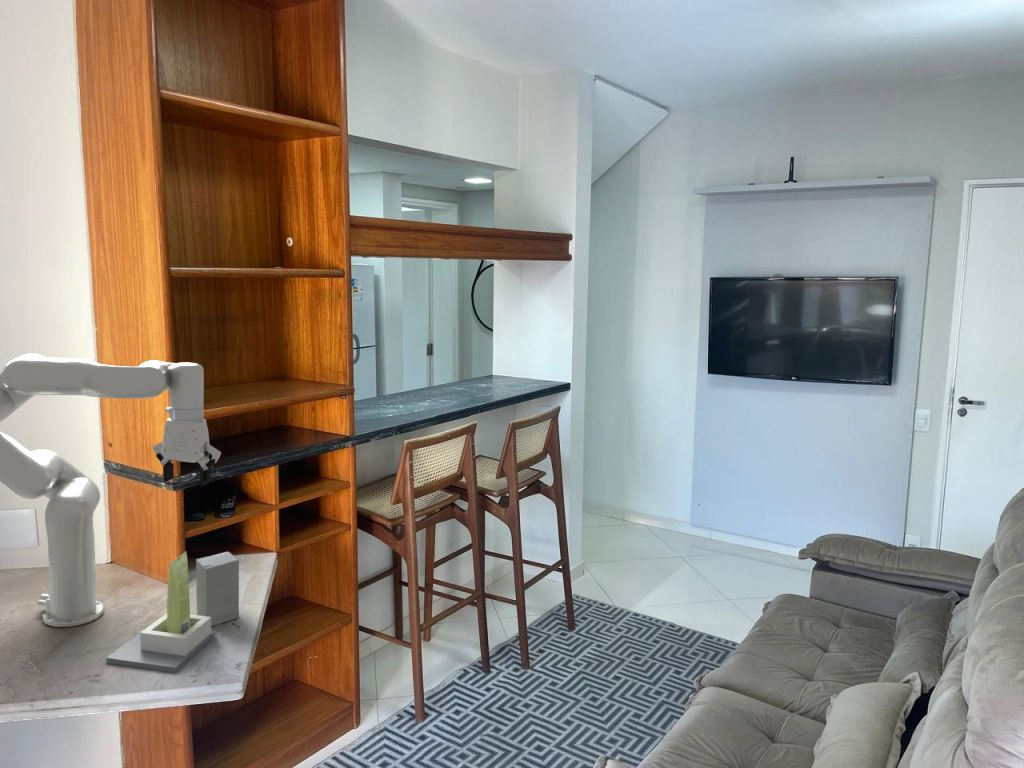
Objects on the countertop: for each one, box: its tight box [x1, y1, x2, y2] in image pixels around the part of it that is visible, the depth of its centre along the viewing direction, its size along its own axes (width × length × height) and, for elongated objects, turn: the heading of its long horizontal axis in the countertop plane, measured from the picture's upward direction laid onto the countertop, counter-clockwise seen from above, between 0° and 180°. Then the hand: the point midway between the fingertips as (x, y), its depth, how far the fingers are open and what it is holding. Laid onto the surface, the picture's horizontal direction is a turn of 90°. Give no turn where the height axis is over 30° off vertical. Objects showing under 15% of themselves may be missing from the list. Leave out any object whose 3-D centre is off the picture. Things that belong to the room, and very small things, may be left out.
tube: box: [166, 551, 191, 635], centre depth 167 cm, size 6×5×20 cm
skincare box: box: [195, 551, 240, 627], centre depth 180 cm, size 8×7×16 cm
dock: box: [105, 612, 217, 674], centre depth 165 cm, size 16×16×5 cm
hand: (186, 482), depth 182 cm, fingers open, 9 cm apart
